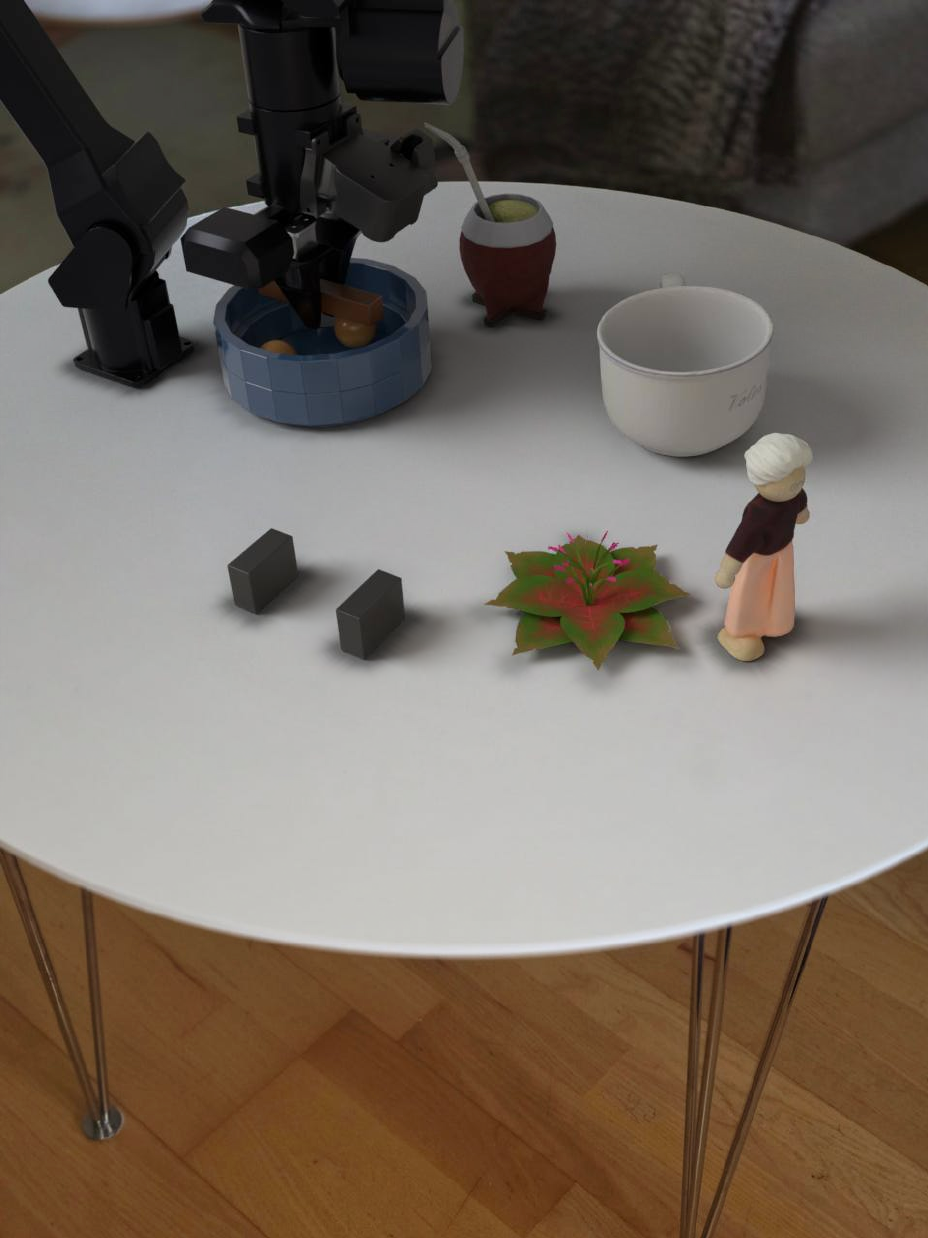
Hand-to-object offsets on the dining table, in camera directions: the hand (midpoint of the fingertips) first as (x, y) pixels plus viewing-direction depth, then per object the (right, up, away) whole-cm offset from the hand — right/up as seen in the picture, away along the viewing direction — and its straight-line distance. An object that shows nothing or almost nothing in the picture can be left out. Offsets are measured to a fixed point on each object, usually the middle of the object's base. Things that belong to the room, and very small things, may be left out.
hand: (321, 321), depth 94 cm
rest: (+2, -20, -17) cm, 26 cm away
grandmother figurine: (+26, -21, -19) cm, 39 cm away
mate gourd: (+13, +3, +9) cm, 16 cm away
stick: (0, +1, -1) cm, 1 cm away
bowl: (0, -3, +3) cm, 4 cm away
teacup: (+24, -7, -3) cm, 25 cm away
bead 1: (-3, -3, 0) cm, 4 cm away
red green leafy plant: (+17, -20, -17) cm, 31 cm away
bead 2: (+2, 0, +4) cm, 4 cm away
